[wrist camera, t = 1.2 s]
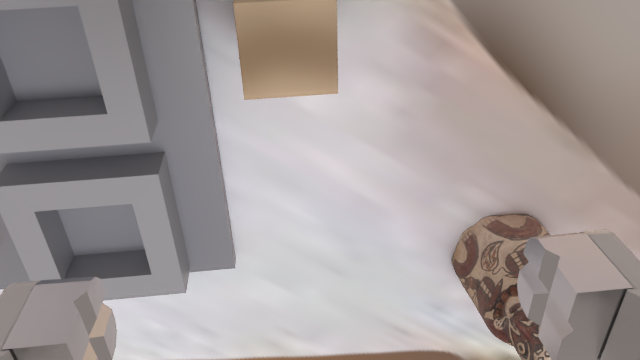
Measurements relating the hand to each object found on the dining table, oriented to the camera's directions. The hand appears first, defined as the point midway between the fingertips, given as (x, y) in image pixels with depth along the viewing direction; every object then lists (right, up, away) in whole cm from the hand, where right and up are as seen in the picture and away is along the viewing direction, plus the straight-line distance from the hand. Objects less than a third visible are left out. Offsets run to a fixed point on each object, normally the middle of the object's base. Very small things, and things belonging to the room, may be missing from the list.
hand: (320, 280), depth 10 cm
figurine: (+13, -3, +29) cm, 32 cm away
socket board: (-16, +4, +21) cm, 26 cm away
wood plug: (-2, +11, +18) cm, 21 cm away
